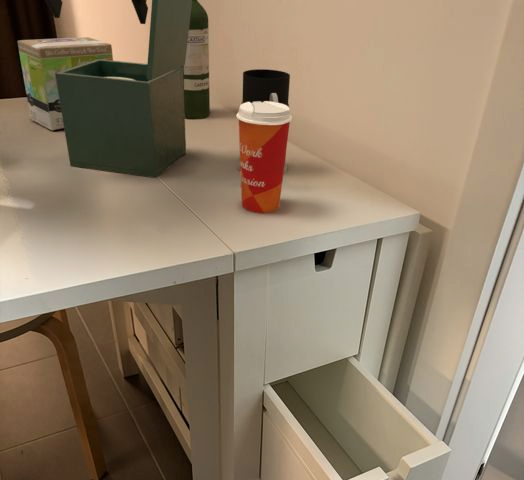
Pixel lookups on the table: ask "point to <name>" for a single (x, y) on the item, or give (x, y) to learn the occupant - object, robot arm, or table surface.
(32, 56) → the tea box
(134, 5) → the robot arm
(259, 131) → the paper cup
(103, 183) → the table surface
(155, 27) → the lid
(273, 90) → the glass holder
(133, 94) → the dark green square box
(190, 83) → the wine bottle
